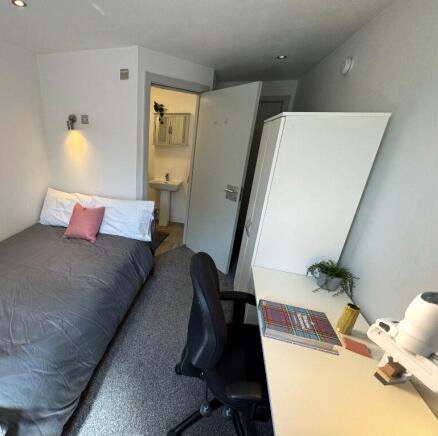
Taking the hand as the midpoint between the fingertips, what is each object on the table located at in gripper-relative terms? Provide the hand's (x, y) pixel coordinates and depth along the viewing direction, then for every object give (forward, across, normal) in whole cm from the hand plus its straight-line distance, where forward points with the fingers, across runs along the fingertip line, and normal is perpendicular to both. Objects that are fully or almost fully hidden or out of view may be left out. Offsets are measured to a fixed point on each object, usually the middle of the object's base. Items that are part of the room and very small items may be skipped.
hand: (395, 371), depth 74 cm
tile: (+16, +21, -15) cm, 30 cm away
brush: (+4, 0, 0) cm, 4 cm away
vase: (+17, +30, -18) cm, 39 cm away
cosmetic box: (+17, +9, -14) cm, 24 cm away
